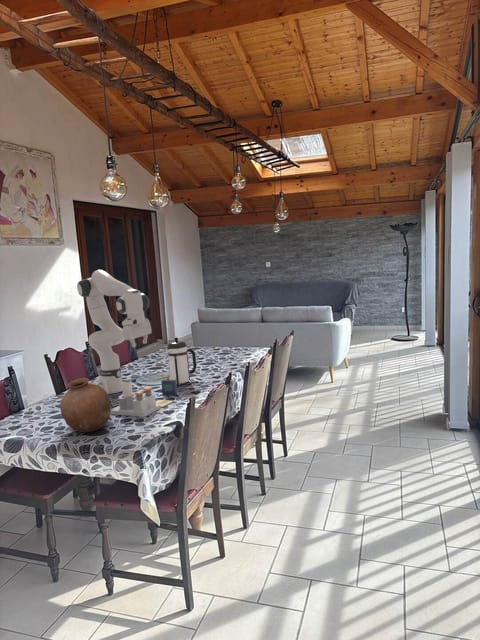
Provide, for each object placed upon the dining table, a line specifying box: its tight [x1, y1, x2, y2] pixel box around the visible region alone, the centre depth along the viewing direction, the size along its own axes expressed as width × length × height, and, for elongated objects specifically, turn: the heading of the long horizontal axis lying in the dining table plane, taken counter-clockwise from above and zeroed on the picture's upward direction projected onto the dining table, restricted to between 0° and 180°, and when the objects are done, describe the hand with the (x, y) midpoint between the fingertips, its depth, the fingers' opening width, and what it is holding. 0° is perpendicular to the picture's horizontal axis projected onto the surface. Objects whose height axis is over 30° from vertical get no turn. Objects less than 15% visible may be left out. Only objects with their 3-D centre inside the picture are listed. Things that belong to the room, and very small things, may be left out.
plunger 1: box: [134, 390, 144, 401], centre depth 246 cm, size 4×4×7 cm
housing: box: [110, 392, 161, 418], centre depth 253 cm, size 22×14×8 cm, turn 65°
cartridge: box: [122, 378, 133, 398], centre depth 254 cm, size 5×5×15 cm
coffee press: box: [165, 336, 197, 388], centre depth 300 cm, size 17×16×30 cm
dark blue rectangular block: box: [160, 376, 178, 396], centre depth 278 cm, size 9×3×11 cm, turn 78°
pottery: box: [59, 377, 112, 433], centre depth 228 cm, size 23×23×25 cm
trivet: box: [156, 399, 174, 409], centre depth 262 cm, size 10×10×1 cm
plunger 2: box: [143, 386, 153, 396], centre depth 253 cm, size 4×4×7 cm
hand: (139, 345), depth 255 cm, fingers open, 8 cm apart
